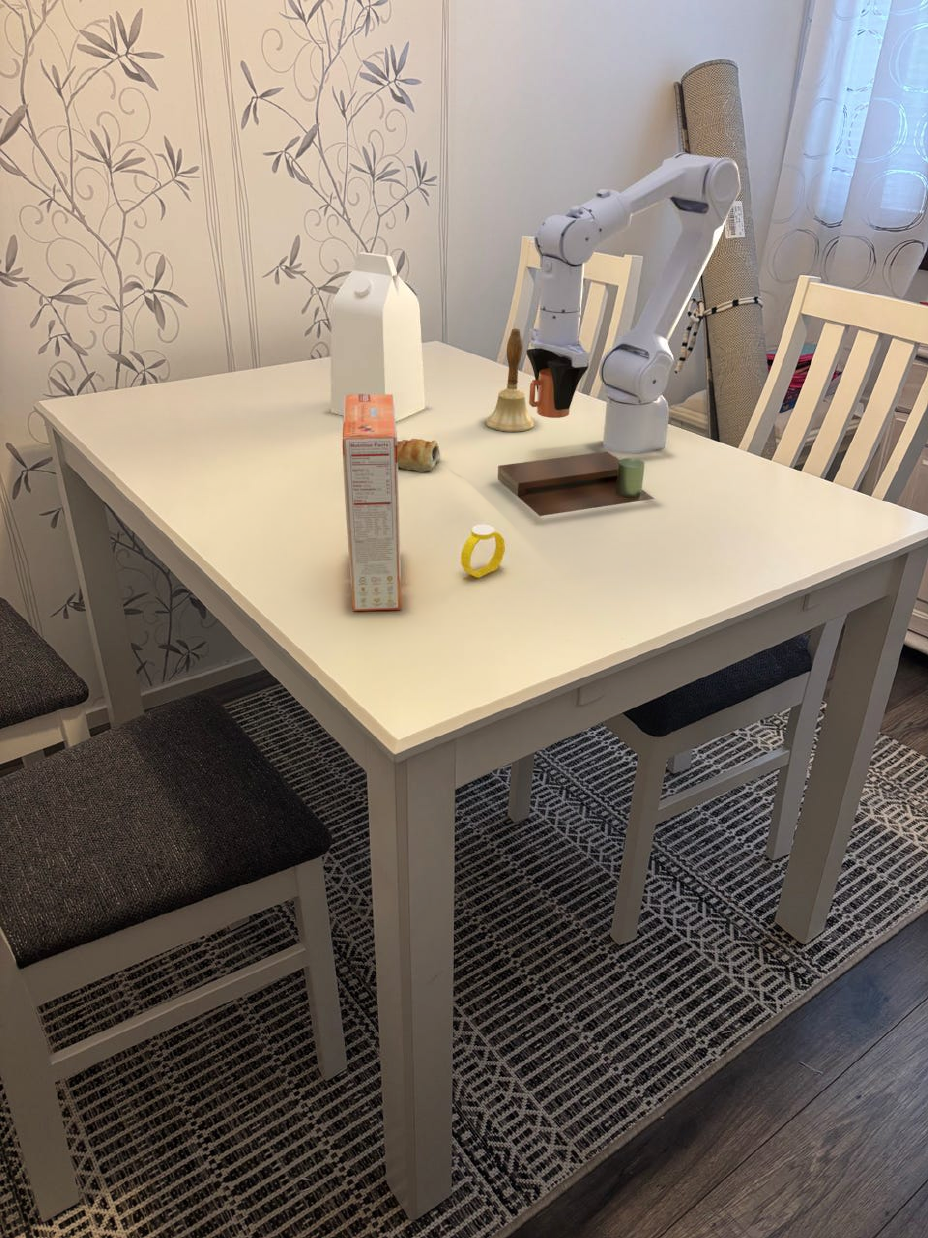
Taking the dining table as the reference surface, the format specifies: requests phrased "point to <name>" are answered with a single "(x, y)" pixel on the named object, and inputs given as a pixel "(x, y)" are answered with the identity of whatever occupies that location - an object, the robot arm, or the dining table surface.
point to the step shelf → (566, 483)
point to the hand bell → (511, 394)
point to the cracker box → (372, 501)
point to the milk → (376, 337)
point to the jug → (545, 396)
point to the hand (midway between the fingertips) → (553, 403)
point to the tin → (630, 477)
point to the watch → (476, 534)
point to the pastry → (417, 454)
